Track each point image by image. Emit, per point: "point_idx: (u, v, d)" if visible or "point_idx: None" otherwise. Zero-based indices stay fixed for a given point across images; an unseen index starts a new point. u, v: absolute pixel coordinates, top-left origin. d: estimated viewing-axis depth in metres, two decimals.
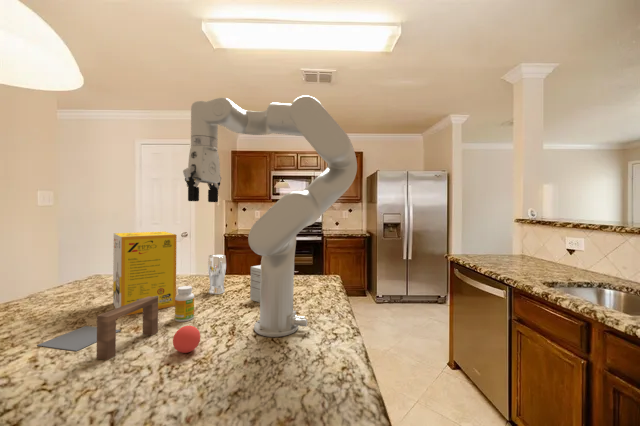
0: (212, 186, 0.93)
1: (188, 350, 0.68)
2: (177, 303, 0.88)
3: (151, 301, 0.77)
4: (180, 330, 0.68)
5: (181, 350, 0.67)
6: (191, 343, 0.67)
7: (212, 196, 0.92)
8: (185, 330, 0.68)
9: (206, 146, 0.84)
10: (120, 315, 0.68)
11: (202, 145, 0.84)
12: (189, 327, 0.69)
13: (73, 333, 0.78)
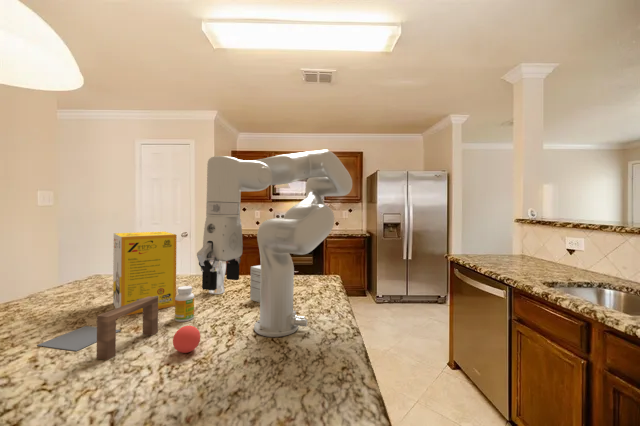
0: (232, 259, 0.73)
1: (188, 350, 0.68)
2: (177, 303, 0.88)
3: (151, 301, 0.77)
4: (180, 330, 0.68)
5: (181, 350, 0.67)
6: (191, 343, 0.67)
7: (232, 272, 0.72)
8: (185, 330, 0.68)
9: (227, 215, 0.64)
10: (120, 315, 0.68)
11: (221, 214, 0.64)
12: (189, 327, 0.69)
13: (73, 333, 0.78)
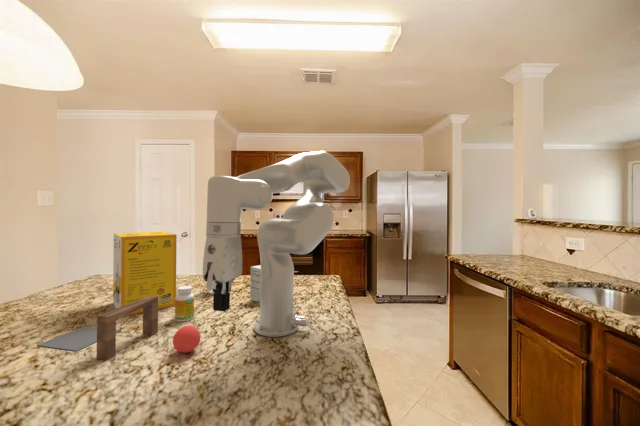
0: None
1: (188, 350, 0.68)
2: (177, 303, 0.88)
3: (151, 301, 0.77)
4: (180, 330, 0.68)
5: (181, 350, 0.67)
6: (191, 343, 0.67)
7: None
8: (185, 330, 0.68)
9: (227, 236, 0.64)
10: (120, 315, 0.68)
11: (222, 235, 0.63)
12: (189, 327, 0.69)
13: (73, 333, 0.78)
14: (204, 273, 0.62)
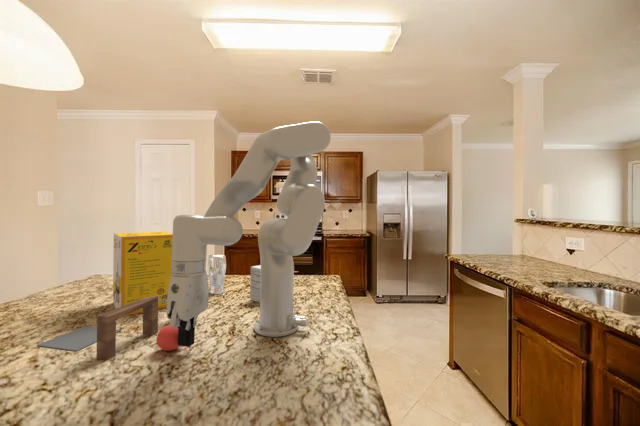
0: None
1: (174, 337, 0.68)
2: None
3: (151, 301, 0.77)
4: None
5: (169, 343, 0.68)
6: (168, 331, 0.68)
7: None
8: None
9: (191, 274, 0.66)
10: (120, 315, 0.68)
11: (186, 274, 0.65)
12: None
13: (73, 333, 0.78)
14: (168, 312, 0.64)
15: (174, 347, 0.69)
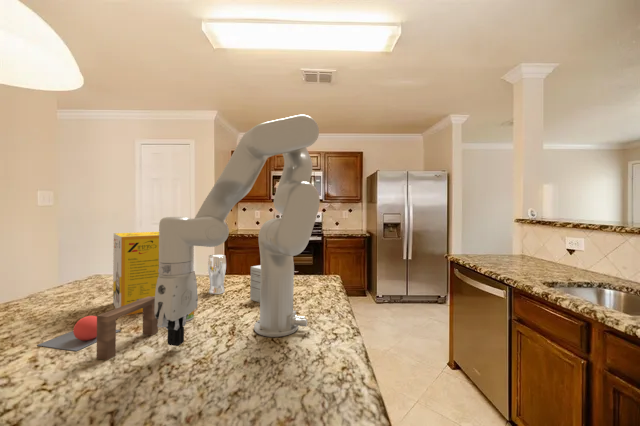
0: None
1: (77, 322, 0.73)
2: None
3: (151, 301, 0.77)
4: (84, 340, 0.74)
5: (78, 325, 0.72)
6: None
7: None
8: None
9: (178, 276, 0.67)
10: (120, 315, 0.68)
11: (172, 275, 0.66)
12: None
13: (73, 333, 0.78)
14: (155, 312, 0.65)
15: (87, 321, 0.73)
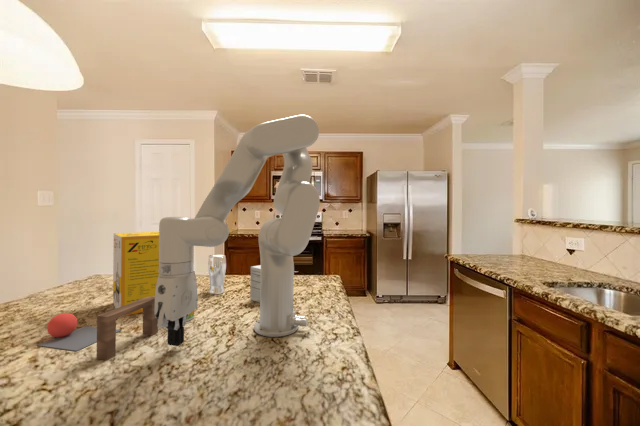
0: None
1: None
2: None
3: (151, 301, 0.77)
4: (59, 317, 0.75)
5: (50, 334, 0.74)
6: (61, 333, 0.74)
7: None
8: (63, 320, 0.75)
9: (178, 276, 0.67)
10: (120, 315, 0.68)
11: (172, 275, 0.66)
12: (69, 318, 0.76)
13: (73, 333, 0.78)
14: (155, 312, 0.65)
15: None
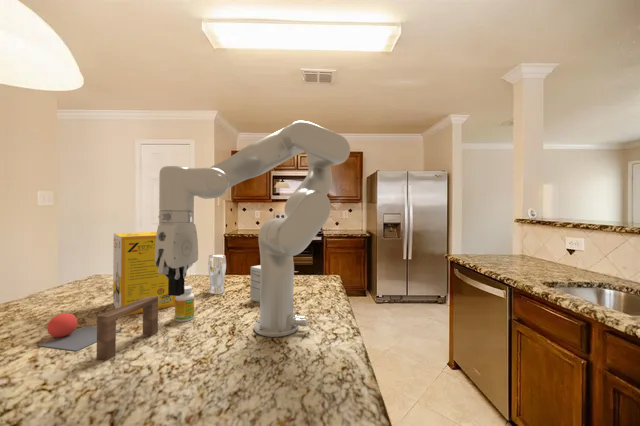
0: (178, 272, 0.71)
1: None
2: (177, 303, 0.88)
3: (151, 301, 0.77)
4: (59, 317, 0.75)
5: (50, 334, 0.74)
6: (61, 333, 0.74)
7: None
8: (63, 320, 0.75)
9: (178, 224, 0.67)
10: (120, 315, 0.68)
11: (173, 223, 0.66)
12: (69, 318, 0.76)
13: (73, 333, 0.78)
14: (156, 259, 0.65)
15: None
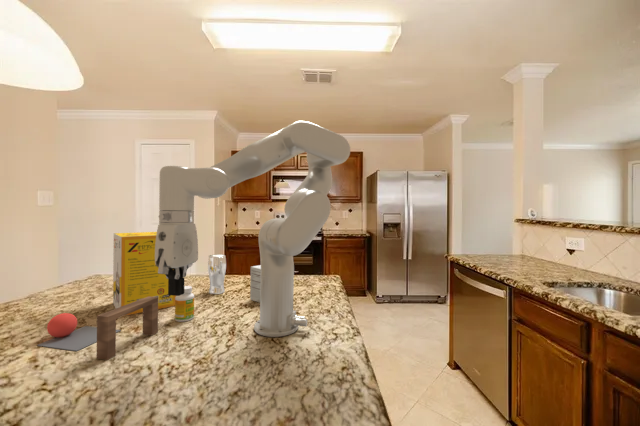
0: (178, 271, 0.71)
1: None
2: (177, 303, 0.88)
3: (151, 301, 0.77)
4: (59, 317, 0.75)
5: (50, 334, 0.74)
6: (61, 333, 0.74)
7: None
8: (63, 320, 0.75)
9: (178, 223, 0.67)
10: (120, 315, 0.68)
11: (173, 223, 0.66)
12: (69, 318, 0.76)
13: (73, 333, 0.78)
14: (156, 259, 0.65)
15: None
